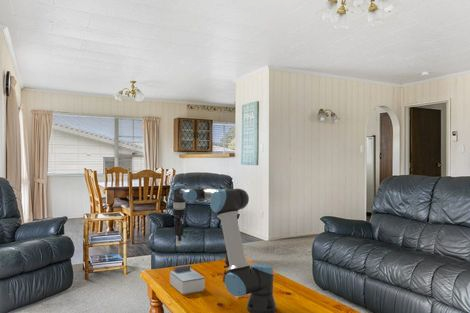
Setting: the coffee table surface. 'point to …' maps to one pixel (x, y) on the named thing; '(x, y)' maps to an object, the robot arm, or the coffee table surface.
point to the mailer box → (187, 285)
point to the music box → (225, 267)
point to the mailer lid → (186, 273)
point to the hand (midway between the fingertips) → (178, 245)
